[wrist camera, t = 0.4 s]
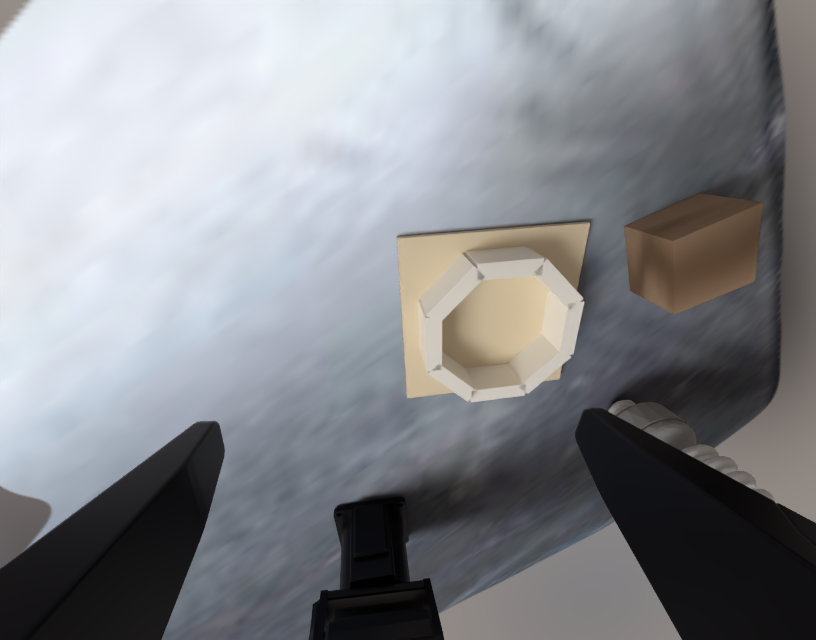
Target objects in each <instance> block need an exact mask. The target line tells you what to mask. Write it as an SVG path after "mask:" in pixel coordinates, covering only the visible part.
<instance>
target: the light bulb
mask: <svg viewBox="0 0 816 640" xmlns="http://www.w3.org/2000/svg"><path fill="white" fill-rule="evenodd" d="M608 412H610V413H612V414H614V415H616V416H617V417H619V418H621V419H623V420H625V421H627V422H629V423H630V424H632V425H634V426H636V427H638V428H640V429H642V430H643V431H645V432H647V433H649V434H651V435H653V436H655V437H656V438H658V439H660V440H662V441H664V442H666V443H668V444H669V445H671V446H673V447H675V448H677V449H679V450H681V451H682V452H684V453H686V454H688V455H690V456H692V457H694V458H695V459H697V460H699V461H701V462H703V463H705V464H707V465H708V466H710V467H712V468H714V469H716V470H718V471H720V472H721V473H723V474H725V475H727V476H729V477H731V478H733V479H734V480H736V481H738V482H740V483H742V484H744V485H746V486H747V487H749V488H751V489H753V490H755V491H757V492H759V493H760V494H762V495H764V496H766V497H768V498H770V499H772V500H773V501H774V498H773V496H772V494H770V493H769V492H768V491H766V490H764V489H755V487H756V481H755V479H754V477H753V476H752V475H750V474H749V473H747V472H744V471H737V470H738V467H737V464H736V463H735V461H733V460H732V459H730V458H727V457H724V456H719V454H718V452H717V451H716V450H715V449H714V448H713V447H711V446H708V445H696V442H697V441H696V435H695V433H694V431H693V430H692V429H691V428H690V427H689V426H688V425H687V423H686V422H685V421H683V420H682V419H681V418H679V417H678V416H676V415H675V414H674V413H672V412H671V411H669V410H668V409H667V408H665V407H664V406H662V405H661V404H658V403H655V402H642V403H638V404H635V403H634V402H633V401H631V400H621V401H617V402H615V403H613V404H612V405H611V407H610V408H609V410H608Z"/></svg>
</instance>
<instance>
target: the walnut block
mask: <svg viewBox="0 0 816 640" xmlns="http://www.w3.org/2000/svg"><path fill="white" fill-rule="evenodd" d="M762 210H763V202H757V201H750V200H743V199H737V198H730V197H723V196H716V195H709V194H702V193H699V194H696V195H694V196H692V197H690V198H687V199H685V200H683V201H680V202H678V203H676V204H674V205H671V206H669V207H667V208H664V209H662V210H660V211H658V212H655V213H653V214H651V215H648V216H646V217H644V218H642V219H639V220H637V221H635V222H633V223H630V224H628V225H626V226H624V230H625V241H626V251H627V262H628V272H629V283H630V291H632V292H634V293H635V294H637V295H639V296H641V297H643V298H645V299H647V300H648V301H650V302H652V303H654V304H656V305H658V306H659V307H661V308H663V309H665V310H667V311H669V312H671V313H672V314H674V315H675V314H677V313H680V312H682V311H684V310H687V309H689V308H692V307H694V306H697V305H699V304H701V303H704V302H706V301H709V300H711V299H713V298H716V297H718V296H721V295H723V294H726V293H728V292H730V291H733V290H735V289H738V288H740V287H742V286H745V285H747V284H750V283H752V282H754V281H755V274H756V265H757V256H758V246H759V237H760V228H761V219H762Z"/></svg>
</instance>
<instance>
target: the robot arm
mask: <svg viewBox="0 0 816 640" xmlns="http://www.w3.org/2000/svg"><path fill="white" fill-rule="evenodd" d="M575 438H576V442H577V444H578V446H579V448H580V450H581V453H582V455H583V457H584V459H585V462H586V464H587V466H588V468H589V470H590V473H591V475H592V477H593V479H594V481H595V484H596V486H597V488H598V490H599V492H600V494H601V496H602V498H603V500H604V502H605V504H606V506H607V507H608V509H609V511H610V513H611V515H612V516H613V518H614V520H615V522H616V523H617V525H618V527H619V529H620V531H621V532H622V534H623V536H624V537H625V539H626V541H627V543H628V544H629V546H630V548H631V550H632V552H633V554H634V555H635V557H636V559H637V561H638V562H639V564H640V566H641V568H642V569H643V571H644V573H645V575H646V576H647V578H648V580H649V582H650V583H651V585H652V587H653V589H654V591H655V592H656V594H657V596H658V598H659V600H660V601H661V603H662V605H663V607H664V608H665V610H666V612H667V614H668V616H669V617H670V619H671V621H672V622H673V624H674V626H675V628H676V629H677V631H678V633H679V635H680V637H681V638H682V640H816V523H815V522H813V521H811V520H809V519H807V518H805V517H803V516H801V515H800V514H797V513H796V512H794V511H792V510H790V509H788V508H787V507H785V506H783V505H781V504H778V503H777V504H776V503H775V501H773V500H772V499H770V498H768V497H766V496H764V495H762V494H760V493H759V492H757V491H755V490H753V489H751V488H749V487H747V486H746V485H744V484H742V483H740V482H738V481H736V480H734V479H733V478H731V477H729V476H727V475H725V474H723V473H721V472H720V471H718V470H716V469H714V468H712V467H710V466H708V465H707V464H705V463H703V462H701V461H699V460H697V459H695V458H694V457H692V456H690V455H688V454H686V453H684V452H682V451H681V450H679V449H677V448H675V447H673V446H671V445H669V444H668V443H666V442H664V441H662V440H660V439H658V438H656V437H655V436H653V435H651V434H649V433H647V432H645V431H643V430H642V429H640V428H638V427H636V426H634V425H632V424H630V423H629V422H627V421H625V420H623V419H621V418H619V417H617V416H616V415H614V414H612V413H610V412H608V411H606V410H604V409H602V408H587V409H585V410H584V411H583V413H582V415H581V418H580V420H579V423H578V425H577V428H576V431H575ZM224 453H225V448H224V443H223V439H222V434H221V429H220V426H219V423H218V422H216V421H200V422H196V423H195V424H193V425H192V426H190V427H189V428H188V429H186V430H185V431H184V432H182V433H181V434H180V435H178V436H177V437H176V438H174V439H173V440H172V441H170V442H169V443H168V444H166V445H165V446H164V447H162V448H161V449H160V450H158V451H157V452H156V453H154V454H153V455H152V456H150V457H149V458H147V459H146V460H145V461H143V462H142V463H141V464H139V465H138V466H137V467H135V468H134V469H133V470H131V471H130V472H129V473H127V474H126V475H125V476H123V477H122V478H121V479H119V480H118V481H117V482H115V483H114V484H113V485H111V486H110V487H109V488H107V489H106V490H105V491H103V492H102V493H101V494H99V495H98V496H97V497H95V498H94V499H92V500H91V501H90V502H88V503H87V504H86V505H84V506H83V507H82V508H80V509H79V510H78V511H76V512H75V513H74V514H72V515H71V516H70V517H68V518H67V519H66V520H64V521H63V522H62V523H60V524H59V525H58V526H56V527H55V528H54V529H52V530H51V531H50V532H48V533H47V534H46V535H44V536H43V537H42V538H40V539H39V540H38V541H36V542H35V543H33V544H32V545H31V546H29V547H28V548H27V549H25V550H24V551H23V552H21V553H20V554H19V555H18V556H16V557H15V558H13V559H12V560H11V561H10V562H8V563H7V564H5V565H4V566H3V567H1V568H0V640H161V639H162V637H163V634H164V631H165V629H166V626H167V624H168V621H169V619H170V616H171V613H172V611H173V608H174V606H175V603H176V601H177V598H178V595H179V593H180V590H181V588H182V585H183V583H184V580H185V577H186V575H187V572H188V570H189V567H190V565H191V562H192V560H193V557H194V554H195V552H196V549H197V547H198V544H199V542H200V539H201V536H202V533H203V531H204V528H205V524H206V521H207V518H208V514H209V511H210V507H211V503H212V500H213V496H214V492H215V489H216V485H217V481H218V478H219V474H220V470H221V467H222V463H223V459H224ZM334 519H335V523H336V527H337V531H338V535H339V540H340V544H341V572H340V590H334V591H328V590H322V591H321V594H320V599H319V601H317V602H316V603H314V604H313V609H312V619H311V628H310V635H309V640H444V636H443V631H442V627H441V623H440V619H439V614H438V610H437V606H436V602H435V598H434V594H433V590H432V585H431V581H430V578H426V579H423V580H421V581H412V582H410V577H409V568H408V560H407V552H406V544H405V543H407V542H408V540H409V538H408V526H407V513H406V502H405V499H404V498H395V499H388V500H382V501H375V502H369V503H362V504H355V505H349V506H342V507H337V508H335V509H334Z"/></svg>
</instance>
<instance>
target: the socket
mask: <svg viewBox="0 0 816 640" xmlns="http://www.w3.org/2000/svg"><path fill="white" fill-rule="evenodd" d="M589 227H590V223H588V222H586V221H585V222H573V223H560V224H548V225H535V226H523V227H510V228H498V229H485V230H473V231H460V232H448V233H435V234H423V235H410V236H398V237H397V252H398V268H399V283H400V299H401V315H402V331H403V347H404V363H405V378H406V394H407V398H413V397H421V396H429V395H437V394H445V393H453V392H455V393H456V394H457V395H459V396H460V397H462V398H463V399H465V400H466V401H469V400H470V401H471V402H477V401H485V400H493V399H501V398H509V397H516V396H524V395H525V392H526V393H527V394H528V393H530V392H531V391H532V390H533V389H534V388H535V387H537V386H538V385H539V384H540V383H541V382H543V381H549V380H557V379H559V378H560V373H561V368H562V365H563V364H564V363H565V362H566V361H567V360H569V359H570V358H571V356H570V355H571V354H573V353H574V348H575V344H576V339H577V334H578V330H579V325H580V320H581V316H582V311H583V306H584V301H583V299H584V298H583V297H582V296H581V295H580V294H579V293H578V292H577V288H578V283H579V277H580V272H581V267H582V262H583V257H584V252H585V247H586V242H587V237H588V232H589Z"/></svg>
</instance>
